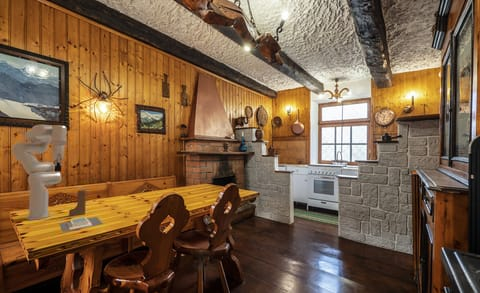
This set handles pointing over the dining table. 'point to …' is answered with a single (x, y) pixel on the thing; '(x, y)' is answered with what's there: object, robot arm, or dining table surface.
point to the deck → (79, 222)
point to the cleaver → (79, 204)
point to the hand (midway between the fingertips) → (57, 171)
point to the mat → (92, 222)
